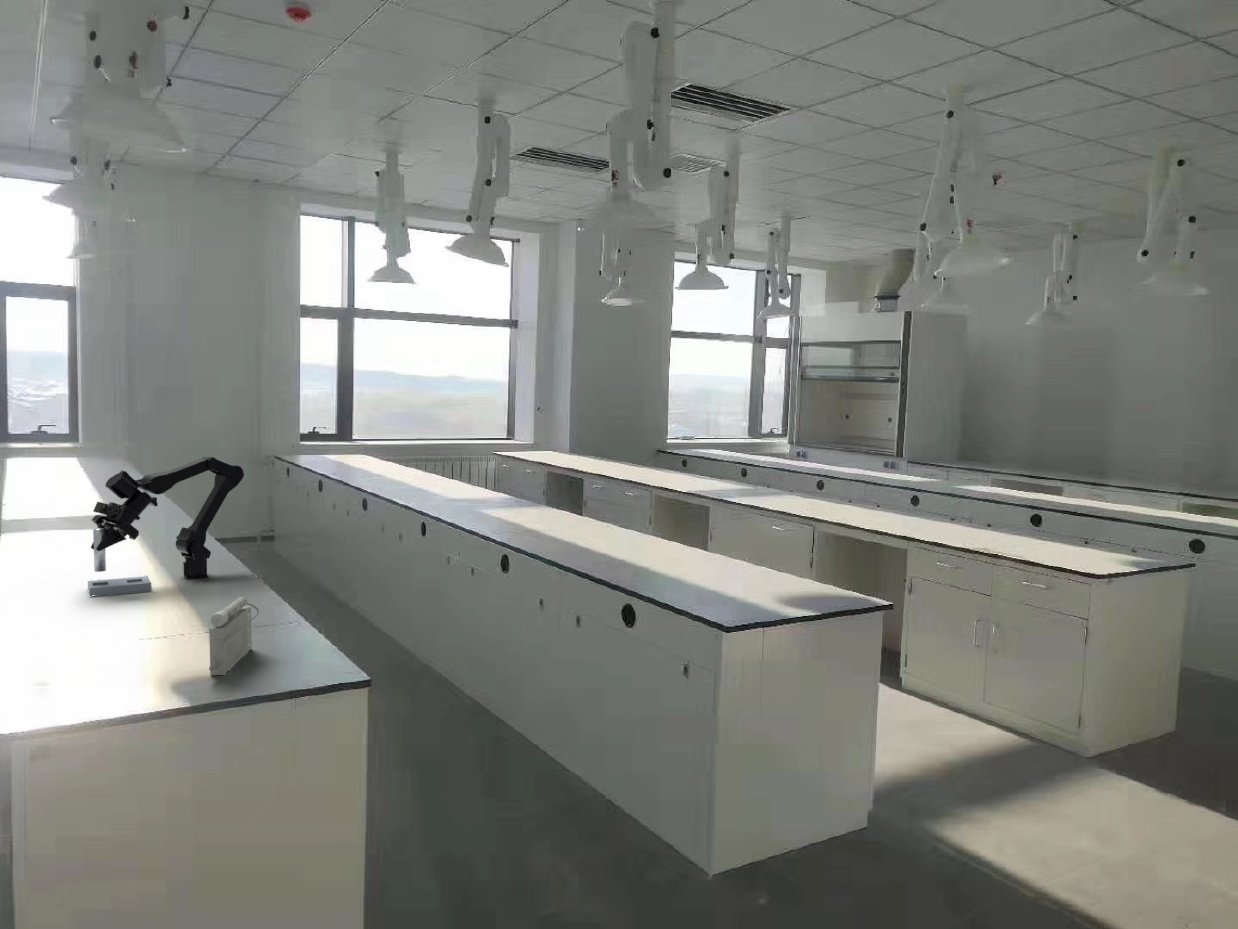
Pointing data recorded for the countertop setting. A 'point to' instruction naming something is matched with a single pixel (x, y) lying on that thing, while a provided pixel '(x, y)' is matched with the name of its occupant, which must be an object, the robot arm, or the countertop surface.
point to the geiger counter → (230, 636)
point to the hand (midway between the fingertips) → (94, 549)
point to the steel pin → (99, 555)
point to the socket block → (119, 586)
